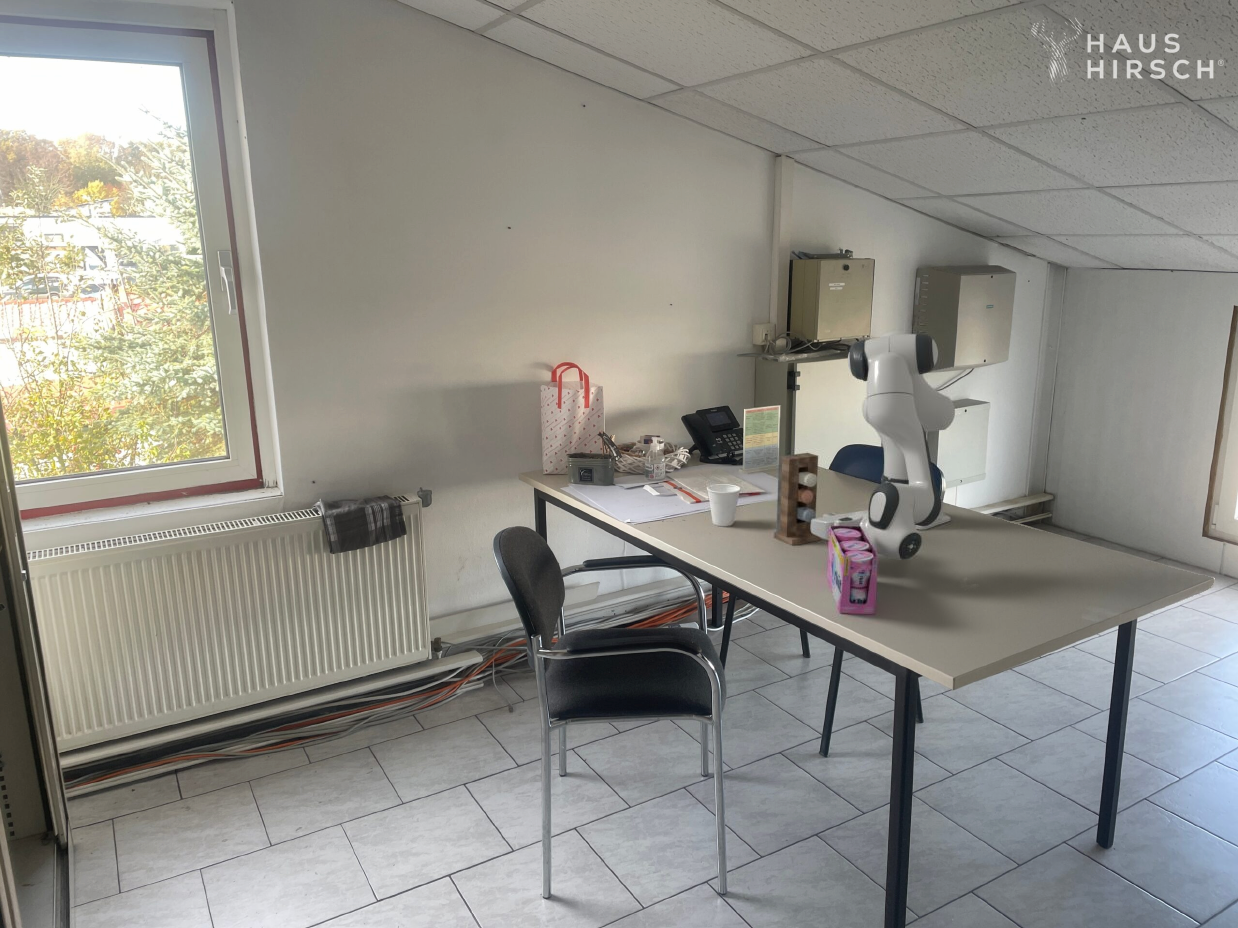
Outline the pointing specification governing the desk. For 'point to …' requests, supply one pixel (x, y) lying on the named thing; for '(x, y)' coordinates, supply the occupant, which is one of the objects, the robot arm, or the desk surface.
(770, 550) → the desk surface
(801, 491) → the terracotta button
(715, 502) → the cup
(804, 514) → the slate button
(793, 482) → the wooden dispenser tower
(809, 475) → the cream button
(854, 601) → the gum box
